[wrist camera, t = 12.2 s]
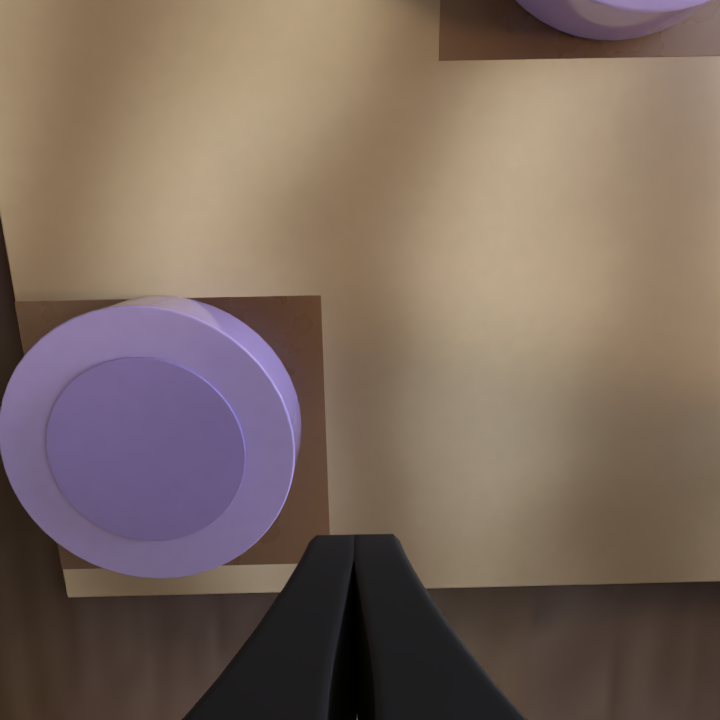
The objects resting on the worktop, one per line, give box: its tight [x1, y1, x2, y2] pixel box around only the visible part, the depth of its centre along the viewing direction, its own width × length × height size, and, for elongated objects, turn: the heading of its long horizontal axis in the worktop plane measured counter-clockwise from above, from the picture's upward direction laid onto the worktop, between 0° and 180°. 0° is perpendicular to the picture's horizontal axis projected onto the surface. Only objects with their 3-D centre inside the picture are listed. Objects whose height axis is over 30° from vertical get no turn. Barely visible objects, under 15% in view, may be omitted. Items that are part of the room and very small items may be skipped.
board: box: [0, 0, 720, 597], centre depth 14 cm, size 20×24×1 cm
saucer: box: [0, 296, 302, 579], centre depth 14 cm, size 7×7×2 cm
